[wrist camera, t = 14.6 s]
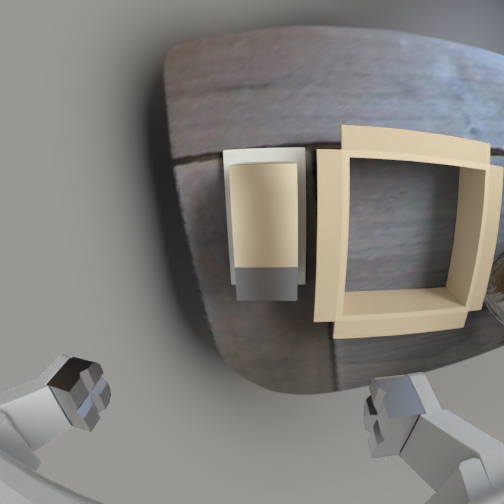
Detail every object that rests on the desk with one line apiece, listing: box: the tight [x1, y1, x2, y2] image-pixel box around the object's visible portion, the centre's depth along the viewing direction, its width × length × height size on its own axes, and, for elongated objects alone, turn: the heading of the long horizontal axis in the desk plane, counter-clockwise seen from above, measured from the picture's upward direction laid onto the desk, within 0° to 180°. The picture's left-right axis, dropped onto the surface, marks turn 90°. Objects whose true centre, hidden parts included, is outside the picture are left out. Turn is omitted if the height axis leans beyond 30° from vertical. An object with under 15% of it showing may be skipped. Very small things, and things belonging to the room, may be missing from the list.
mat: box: [223, 148, 306, 285], centre depth 29 cm, size 8×14×1 cm, turn 3°
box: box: [229, 161, 298, 301], centre depth 26 cm, size 5×11×6 cm, turn 2°
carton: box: [314, 125, 503, 339], centre depth 26 cm, size 19×19×5 cm
